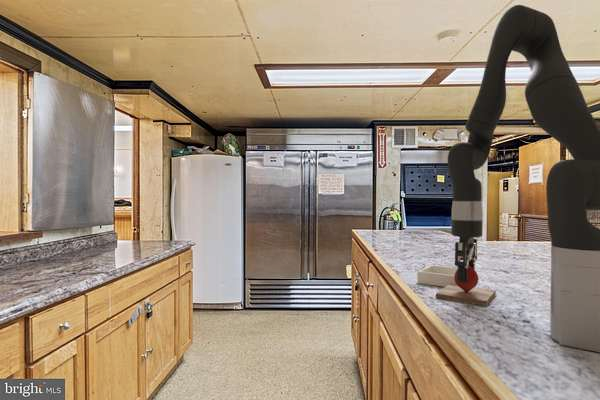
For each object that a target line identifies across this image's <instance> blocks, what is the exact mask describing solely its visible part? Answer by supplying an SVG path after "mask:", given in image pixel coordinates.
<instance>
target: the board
mask: <svg viewBox="0 0 600 400" xmlns="http://www.w3.org/2000/svg"><path fill="white" fill-rule="evenodd" d="M496 293H497V292H496V290H494V289H488V288H480V287H474V288H473V289H471V290H470V291H469V292H465V291H464V290H463V289H461V288H460V287H459V286H458V285H451V284H449V285H447V286H446V287H444V286H443V288H441V289H440V290H438V291H437V292H436V293H435V299H439V300H447V301H453V302H457V301H460V302H459V303H464V302H467V303H466V304H470V303H473V304H472V305H476V304H478V305H477V306H482V305H483V306H482V307H487V306H488V305H489V304H490V302H491V301H492V300H493V299H494V298H495V296H496ZM493 297H494V298H493Z"/></svg>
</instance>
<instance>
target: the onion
mask: <svg viewBox="0 0 600 400" xmlns="http://www.w3.org/2000/svg"><path fill="white" fill-rule="evenodd" d="M454 280H455V283H456V284H457V285H458V286H459V287H460V288H461V289H463V290H464V291H465V292H469V291H470V290H471V289H473V288H476V286H477V285H478V283H479V275H478V273H477V271H476V270H474V269H473V268H472V267H471V266H469V262H468V268H467V282H466V283H462V282H458V269H457V271H456V272H455V276H454Z"/></svg>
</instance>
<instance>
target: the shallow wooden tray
mask: <svg viewBox="0 0 600 400" xmlns="http://www.w3.org/2000/svg"><path fill="white" fill-rule="evenodd" d="M457 269H458V267H453V266H452V267H450V266H442V265H434V264H433V265H432V264H430V265H428V266H427V267H423V268H421V269H420V270H417V275H416V276H417V277H416V278H417V279H416V280H417V284H423V285H431V286H437V287H443V288H444V287H446V286H447V285H449V284H451V285H457V284H456V283H455V280H454V276H455V272H456V271H457Z"/></svg>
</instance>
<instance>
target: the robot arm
mask: <svg viewBox="0 0 600 400" xmlns="http://www.w3.org/2000/svg"><path fill="white" fill-rule="evenodd" d="M512 51H513V52H515V53H517V54H518V53H519V54H521V55H522V56H524V58H525V60H526V61H527V64H528V65H529V69H530V72H531V73H530V75H529V77H528V78H527V81H526V84H525V89H524V97H525V101H526V104H527V106H528V109H529V112H530V115H531V117H532V119H533V121H534V122H535V123H536V124H537V126H538V127H539V128H540V129H542V131H544V132H545V133H546V134H548V135H549V136H550V137H551V138H553V139H555V141H557V142H558V144H559V143H560V145H562V146H563V147H564V148H565V150H567V151H568V152H569V154H570V155H571V157H572V158H571V159H561V160H558V161H557V162H555V163H554V164H553V165H552V166H551V168H550V169H549V172H548V174H547V178H546V187H545V188H546V189H545V190H546V194H545V196H546V207H547V227H548V231H549V234H550V238H551V239H550V240H551V241H550V242H551V243H550V248H551V249H550V305H549V306H550V309H549V310H550V313H549V314H550V318H549V319H550V320H549V321H550V325H549V327H550V329H549V330H550V333H549V334H550V337H551V339H553V340H554V341H556V342H557V343H558V344H559V345H561V346H566V347H571V348H576V349H582V350H587V351H593V352H597V353H600V228H599V227H597V226H595V225H594V224H592V222H590V221H589V219H588V216H587V211H600V128H599V126H598V125H597V123H596V120H595V118H594V117H593V115H592V112H591V110H590V108H589V107H588V105H587V102H586V100H585V97H584V94H583V92H582V89H581V87H580V86H579V84H578V82H577V79H576V77H575V76H574V74H573V72H572V70H571V68H570V65H569V63H568V61H567V58H566V57H565V54H564V52H563V49H562V47H561V43H560V39H559V34H558V32H557V28H556V25H555V22H554V20H553V18H551V16H550V15H548V14H546V13H544V12H543V11H540V10H537V9H534V8H531V7H528V6H526V5H522V4H516V5H513V6H512V7H509V8H508V9H507V10H506V11H505V12H504V13H503V14H502V15H501V17H500V18H499V20H498V22H497V24H496V27H495V30H494V33H493V36H492V39H491V43H490V48H489V51H488V55H487V58H486V63H485V67H484V71H483V76H482V79H481V84H480V87H479V89H478V94H477V96H476V98H475V101H474V103H473V105H472V108H471V110H470V113H469V115H468V117H467V121H466V123H465V130H466V131H467V132H468V140H467V142H465V141H460V142H455V143H454V144H453V145H452V146H451V147H450V149H449V151H448V155H447V165H448V166H447V168H448V171H449V176H450V180H451V183H452V206H451V230H450V231H451V235H452V236H454V237H459V241H456V242H455V244H454V247H455V248H454V266H455V267H456V268H458V282H462V283H466V282H467V268H468V262H469V266H471V267H472V268H473V269H474V270H475V269H476V268H475V267H476V266H475V264H476V262H477V260H478V239H477V238H482V236H483V221H484V219H483V217H484V215H483V214H484V213H483V203H482V201H483V197H482V195H483V194H482V193H483V189H482V188H483V187H482V186H483V185H482V182H481V180H479V179H478V178H477V177H476V174H475V170H479V169H480V168H483V166H484V165H485V163H486V162H487V160H488V158H489V156H490V154H491V153H490V152H491V149H492V143H493V138H494V132H495V131H496V128H497V126H498V123H499V121H500V119H501V117H502V114H503V112H504V109H505V107H506V101H507V86H506V85H507V83H506V74H507V71H506V70H507V65H508V60H509V58H510V55H511V53H512ZM475 271H476V270H475Z"/></svg>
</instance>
